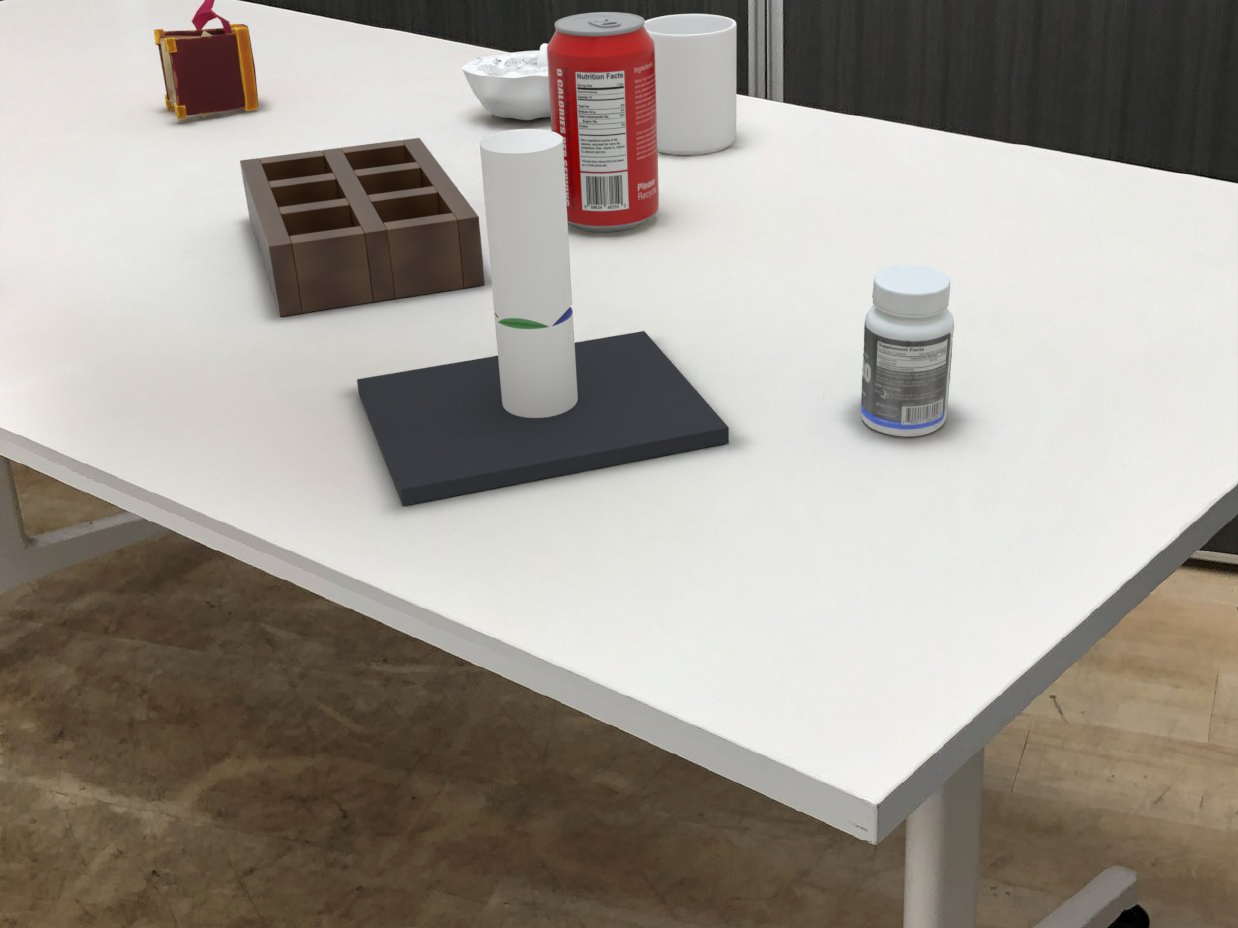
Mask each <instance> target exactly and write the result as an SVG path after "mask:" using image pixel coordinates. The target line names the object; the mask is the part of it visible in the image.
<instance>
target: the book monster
mask: <svg viewBox="0 0 1238 928" xmlns="http://www.w3.org/2000/svg"><path fill="white" fill-rule="evenodd" d="M214 4H215V0H204V1H203V3H202V4H201V5H200V6H199V8H198V9H197V10H196V12H195V14H194V16H193V17H192V19H191V21H190V22H191V23H192V24H193V26H194V28H195V29H193V30H191V29H190V30H164V29H163V28H157V29H153V34H154V42H155V46H158V52H159V58H160V64H161V70H162V76H163V81H164V88H165V94H164V102H165V106H166V110H167V112H170V111H174V113H175V117H176V119H177V120H184V119H185V120H186V119H187V118H188V117H189V116H197V115H201V116H202V118H203V119H204V118H205V117H207V116H209V115H210V114H213V113H222V112H228V111H235V110H241V109H242V110H244V111H246V112H250V111H255V110H259V96H258V84H257V73H256V65H255V59H254V53H253V48H252V41H251V35H250V30H249V25H247V24H244V23H230V21H229V20H227V19H225V18H224V17H222V16H220V15H219V14H217V13H216V12H215V11H214V10H212V9H213V8H214ZM216 18H217V19H218V20H219V21H220V22H221V25H222V27H219V28H217V27H215V28H204V27H205V26H206V24H207V23H208V22H210V21H212V20H214V19H216ZM203 28H204V29H203Z"/></svg>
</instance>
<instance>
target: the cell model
mask: <svg viewBox="0 0 1238 928" xmlns="http://www.w3.org/2000/svg"><path fill="white" fill-rule="evenodd" d="M548 44H549V43H546V42H544V43H542V44H540V47H539V50H525V51H516V52H508V53H501V54H494V55H487V56H482V57H476V58H475V59H472V60H471V61H469V62H467V63H465V64H463V65H462V66H461V70H462V72H463V75H464V76H465V79H466V81H467V83H468V85H469V87H470V89H471V91H472V93H473V94H474V96H475V97H476V99H477V100H478V101H479V103H480V105H481V106H482V107H483V108H484V109H485V110H486V112H488V113H489V114H491V115H492V116H496V117H499V118H504V119H515V120H521V121H533V120H536V119H542V118H544V119H547V118H551V113H550V96H549V80H548V64H547V45H548Z"/></svg>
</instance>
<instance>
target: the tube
mask: <svg viewBox="0 0 1238 928" xmlns="http://www.w3.org/2000/svg"><path fill="white" fill-rule="evenodd" d="M479 151H480V165H481V172H482V173H481V174H482V175H481V176H482V187H483V188H482V189H483V198H484V209H485V222H486V233H487V245H488V256H489V257H488V258H489V266H490V267H489V268H490V278H491V279H490V280H491V290H492V301H493V310H494V323H495V337H496V348H497V356H498V361H499V372H500V384H501V395H502V404H503V407H504V408H505V410H507V411H508V412H509V413H511V414H514V415H517V416H521V417H526V418H544V417H551V416H556V415H559V414H562V413H564V412H566V411H568V410H570V409H571V408H573V407H574V406H575V405H576V403H577V400H578V395H577V377H576V360H575V342H576V341H575V330H574V326H575V325H574V310H573V308H572V307H571V306H572V305H573V295H572V294H573V293H572V292H573V291H572V276H571V275H572V274H571V258H570V241H569V240H570V239H569V223H568V221H567V204H566V187H565V170H564V152H563V138H562V136H561V135H559V134H558V133H555V132H552V130H547V129H540V128H517V129H509V130H508V129H507V130H503V131H498V132H495V133H491V134H489V135H487V136H485V137H483V138H481V140H480V141H479Z"/></svg>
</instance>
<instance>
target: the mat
mask: <svg viewBox="0 0 1238 928" xmlns="http://www.w3.org/2000/svg"><path fill="white" fill-rule="evenodd" d="M574 342H575V360H576V377H577V395H578V400H577V403H576V405H575V406H574V407H573V408H571V409H570V410H568V411H566V412H564V413H562V414H559V415H556V416H551V417H544V418H526V417H521V416H517V415H514V414H511V413H509V412H508V411H507V410H505V408H504V407H503V404H502V395H501V384H500V372H499V361H498V355H494V356H486V357H482V358H475V359H469V360H464V361H457V362H450V363H446V364H440V365H434V366H428V367H427V366H426V367H422V368H416V369H409V370H403V371H398V372H392V373H386V374H379V375H374V376H368V377H363V378H357V380H356V383H357V389H358V395H359V398H360V400H361V404H363V407H364V411H365V413H366V416H367V418H368V421H369V423H370V425H371V429H372V430H373V434H374V436H375V438H376V442H377V444H378V446H379V448H380V451H381V454H382V456H383V459H384V461H385V464H386V467H387V469H388V472H389V474H390V477H391V479H392V481H393V484H394V487H395V489H396V492H397V494H398V497H399V499H400V503H401V505H402V506H408V505H414V504H419V503H424V502H429V501H434V500H441V499H446V498H451V497H456V496H460V495H465V494H471V493H476V492H480V491H487V490H492V489H496V488H502V487H506V486H512V485H519V484H524V483H529V482H534V481H538V480H544V479H549V478H554V477H555V478H556V477H559V476H565V475H570V474H575V473H580V472H585V471H590V470H596V469H600V468H606V467H611V466H617V465H622V464H626V463H627V464H628V463H631V462H637V461H642V460H648V459H653V458H659V457H663V456H667V455H668V456H669V455H673V454H678V453H684V452H689V451H695V450H699V449H705V448H709V447H715V446H721V445H725V444H729V443H730V442H729V441H730V433H729V431H730V427H729V426H728V425H727V424H726V422H725V421H724V420H723V419H722V418H721V417H720V415H718V413H717V412H716V411H715V410H714V408H713V407H712V406H711V405H710V404H709V403H708V402H707V401H706V400H705V398H704V397H703V396H702V395H701V394H700V393H699V391H698V390H697V389H696V388H695V387H694V386H693V384H691V383H690V381H689V380H688V378H686V377H685V376H684V374H683V373H682V372H681V371H680V370H679V368H678V367H676V365H675V364H674V363H673V362H672V361H671V359H670V358H669V357H668V356H667V355H666V354H665V353H664V352H663V351H662V350H661V348H660V347H659V346H658V344H656V342H655V341H654V340H653V339H652V338H651V336H649V334H648V333H647V331H645V330H640V331H635V332H629V333H624V334H617V335H612V336H611V335H610V336H605V337H599V338H593V339H587V340H582V341H574Z"/></svg>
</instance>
